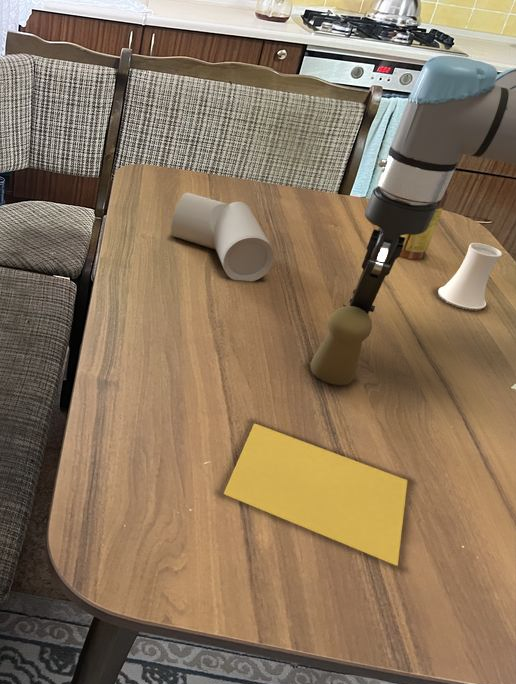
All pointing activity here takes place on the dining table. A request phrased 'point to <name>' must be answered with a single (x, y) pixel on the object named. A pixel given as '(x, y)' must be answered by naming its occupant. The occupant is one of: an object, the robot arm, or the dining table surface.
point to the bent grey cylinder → (225, 234)
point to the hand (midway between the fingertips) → (340, 349)
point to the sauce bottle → (422, 236)
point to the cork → (341, 346)
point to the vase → (471, 278)
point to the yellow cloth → (321, 492)
